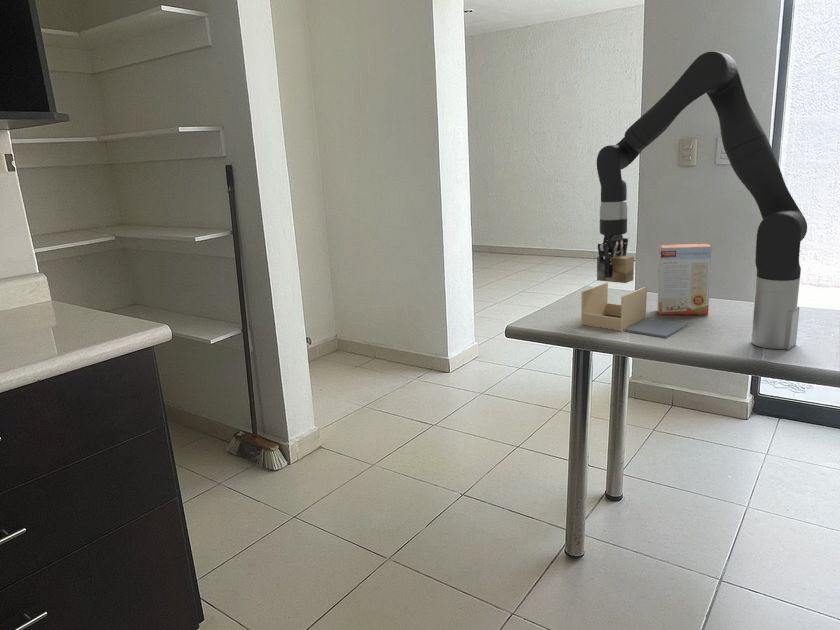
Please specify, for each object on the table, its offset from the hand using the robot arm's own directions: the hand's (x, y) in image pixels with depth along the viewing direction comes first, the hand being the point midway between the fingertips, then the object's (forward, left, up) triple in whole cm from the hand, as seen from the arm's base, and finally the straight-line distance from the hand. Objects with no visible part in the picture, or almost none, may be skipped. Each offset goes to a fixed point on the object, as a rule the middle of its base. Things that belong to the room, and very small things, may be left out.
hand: (612, 275), depth 177 cm
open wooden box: (-1, 0, -14) cm, 14 cm away
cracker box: (-13, -20, -14) cm, 28 cm away
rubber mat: (-14, 0, -14) cm, 20 cm away
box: (-1, 0, -1) cm, 2 cm away
